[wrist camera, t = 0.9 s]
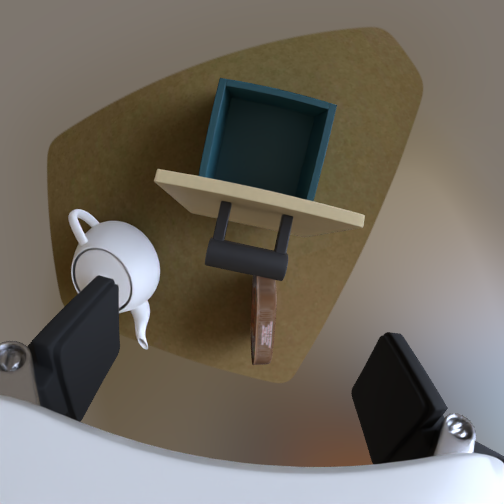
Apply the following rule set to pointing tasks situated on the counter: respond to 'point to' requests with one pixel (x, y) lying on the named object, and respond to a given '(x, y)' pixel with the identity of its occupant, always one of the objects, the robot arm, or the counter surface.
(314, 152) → the teal open box
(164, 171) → the lid
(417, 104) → the counter surface
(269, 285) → the tin
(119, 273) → the teapot
